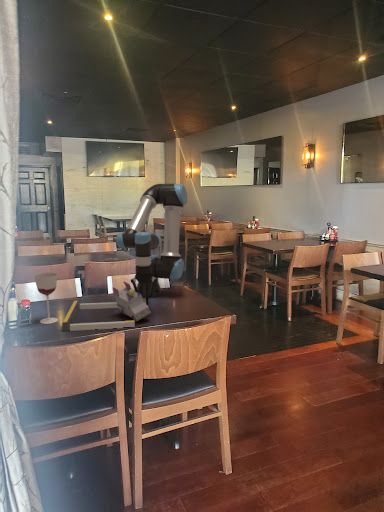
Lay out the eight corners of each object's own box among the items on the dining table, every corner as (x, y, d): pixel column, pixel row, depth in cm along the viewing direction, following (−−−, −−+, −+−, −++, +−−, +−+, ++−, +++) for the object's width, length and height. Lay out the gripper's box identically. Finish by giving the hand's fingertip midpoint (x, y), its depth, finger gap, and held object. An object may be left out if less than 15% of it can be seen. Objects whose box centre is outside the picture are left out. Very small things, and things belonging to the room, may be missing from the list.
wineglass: (63, 320, 178) (60, 275, 175) (43, 325, 172) (40, 278, 168) (54, 316, 184) (51, 272, 180) (35, 320, 177) (31, 275, 174)
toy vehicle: (137, 325, 172) (127, 296, 167) (118, 314, 188) (109, 287, 183) (153, 316, 177) (144, 287, 172) (134, 305, 193) (125, 279, 188)
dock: (134, 305, 200) (134, 298, 200) (134, 327, 169) (134, 318, 168) (74, 308, 196) (74, 300, 195) (62, 331, 165) (62, 322, 164)
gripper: (156, 262, 186) (157, 308, 190) (129, 263, 184) (131, 309, 188) (157, 265, 178) (158, 313, 182) (129, 266, 176) (131, 314, 180)
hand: (144, 311), depth 185 cm, fingers closed
